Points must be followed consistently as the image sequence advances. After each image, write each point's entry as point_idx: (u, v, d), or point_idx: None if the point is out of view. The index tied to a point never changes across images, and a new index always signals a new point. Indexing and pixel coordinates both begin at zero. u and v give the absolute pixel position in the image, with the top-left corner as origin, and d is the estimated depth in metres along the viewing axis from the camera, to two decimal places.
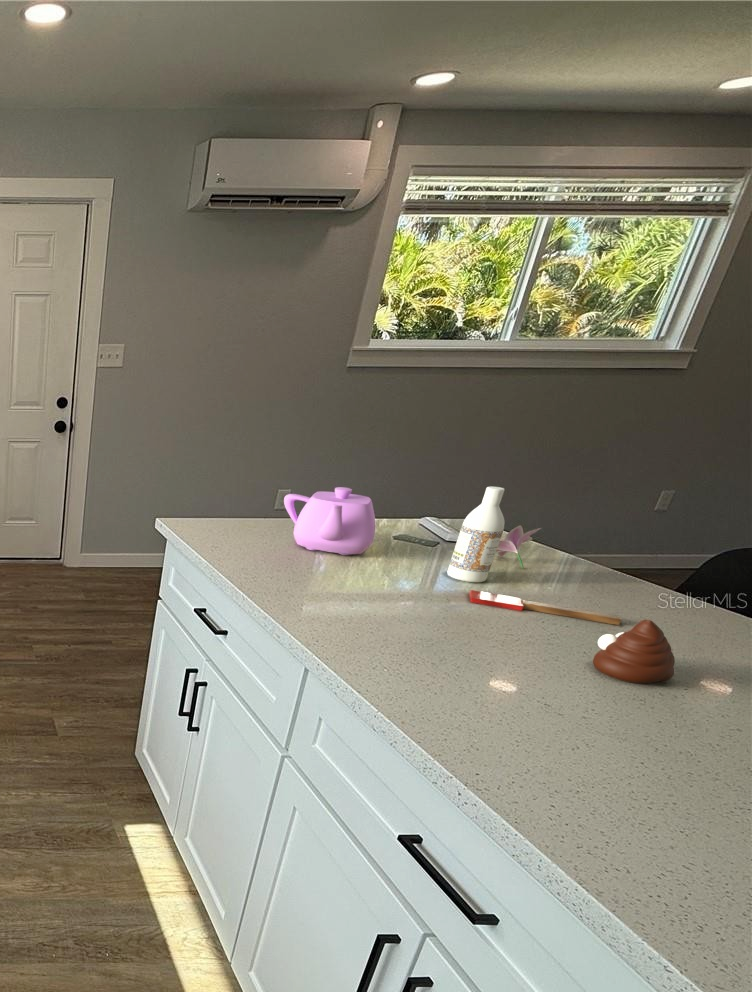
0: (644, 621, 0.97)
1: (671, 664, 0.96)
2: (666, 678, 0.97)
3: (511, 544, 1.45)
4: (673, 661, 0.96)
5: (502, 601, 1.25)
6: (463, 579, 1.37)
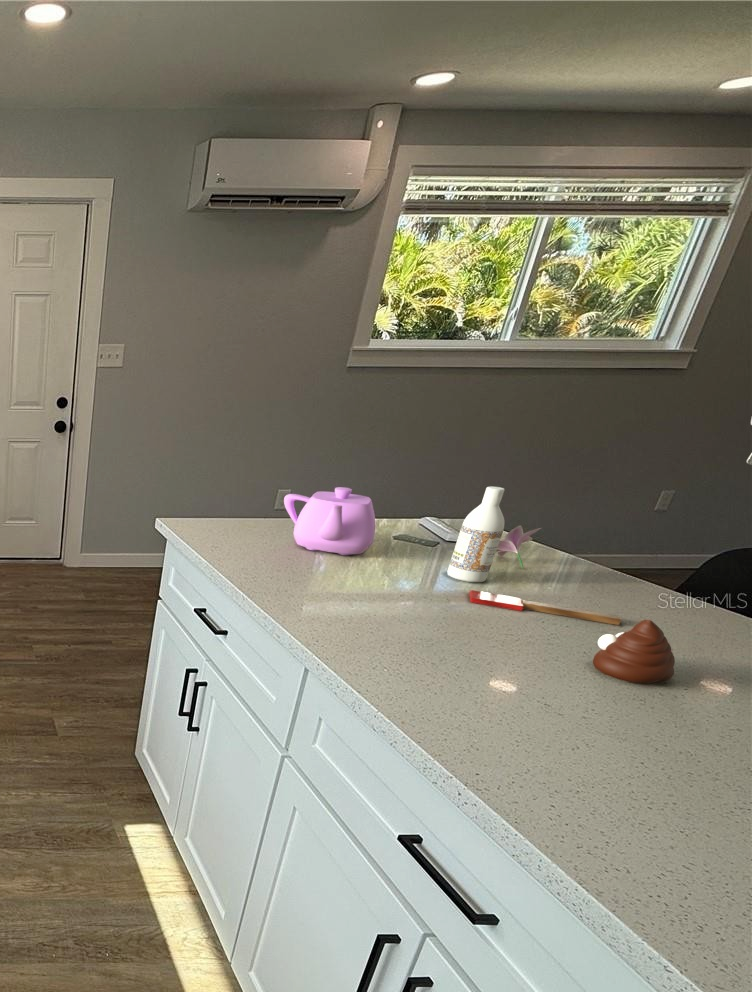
0: (644, 621, 0.97)
1: (671, 664, 0.96)
2: (666, 678, 0.97)
3: (511, 544, 1.45)
4: (673, 661, 0.96)
5: (502, 601, 1.25)
6: (463, 579, 1.37)
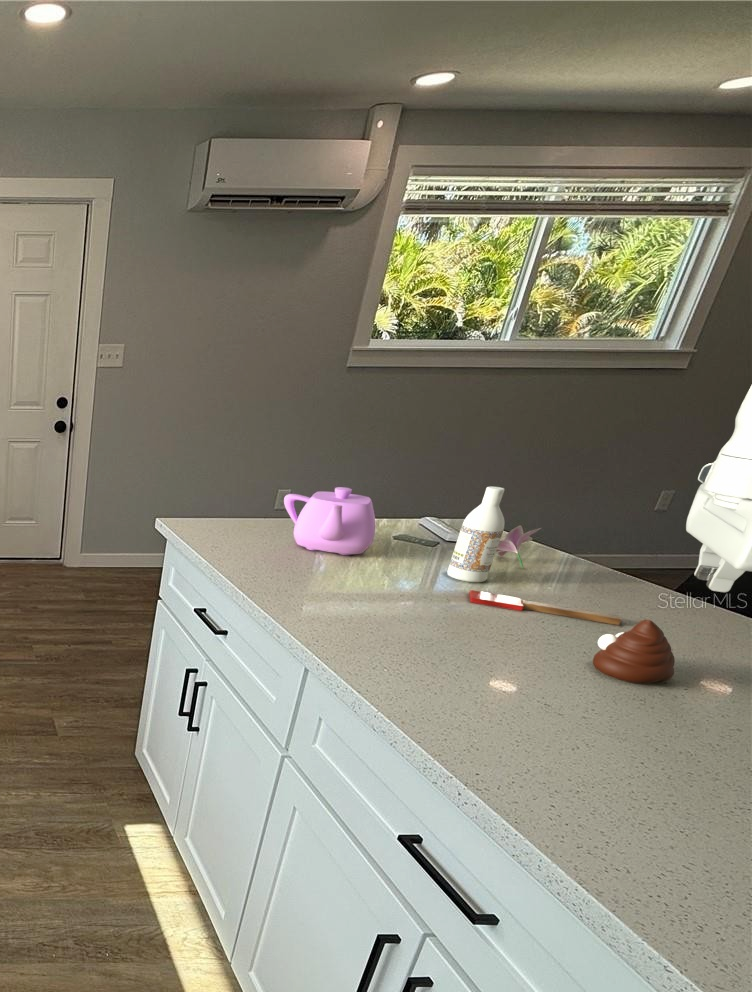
0: (644, 621, 0.97)
1: (671, 664, 0.96)
2: (666, 678, 0.97)
3: (511, 544, 1.45)
4: (673, 661, 0.96)
5: (502, 601, 1.25)
6: (463, 579, 1.37)
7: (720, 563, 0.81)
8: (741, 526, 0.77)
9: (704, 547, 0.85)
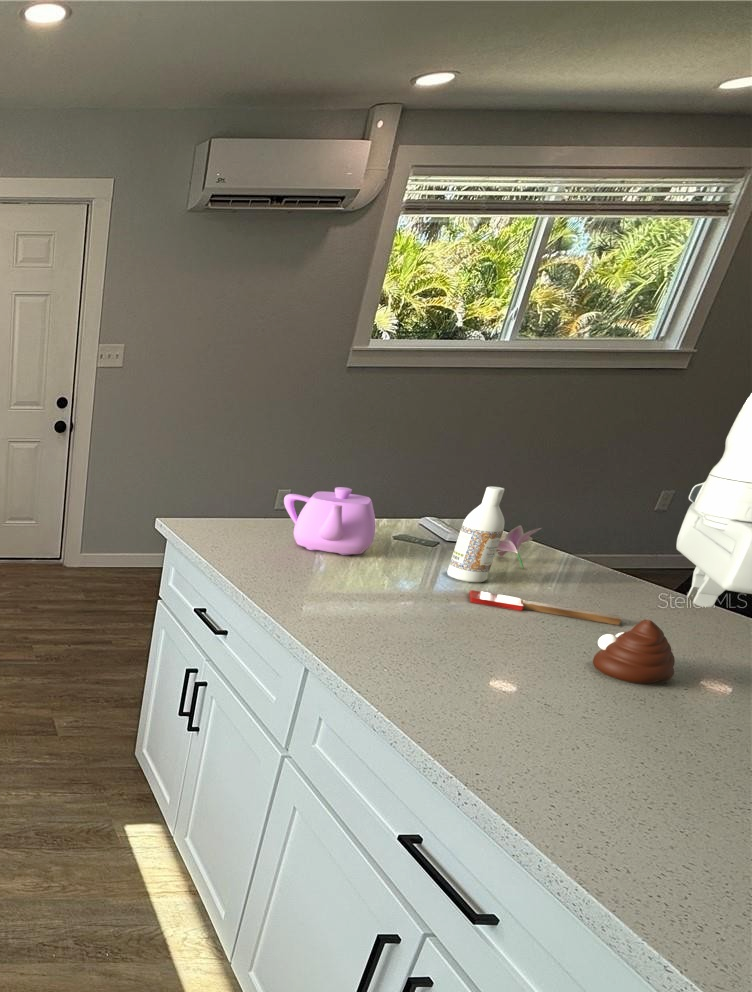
0: (644, 621, 0.97)
1: (671, 664, 0.96)
2: (666, 678, 0.97)
3: (511, 544, 1.45)
4: (673, 661, 0.96)
5: (502, 601, 1.25)
6: (463, 579, 1.37)
7: (704, 579, 0.83)
8: (729, 547, 0.78)
9: (697, 569, 0.85)
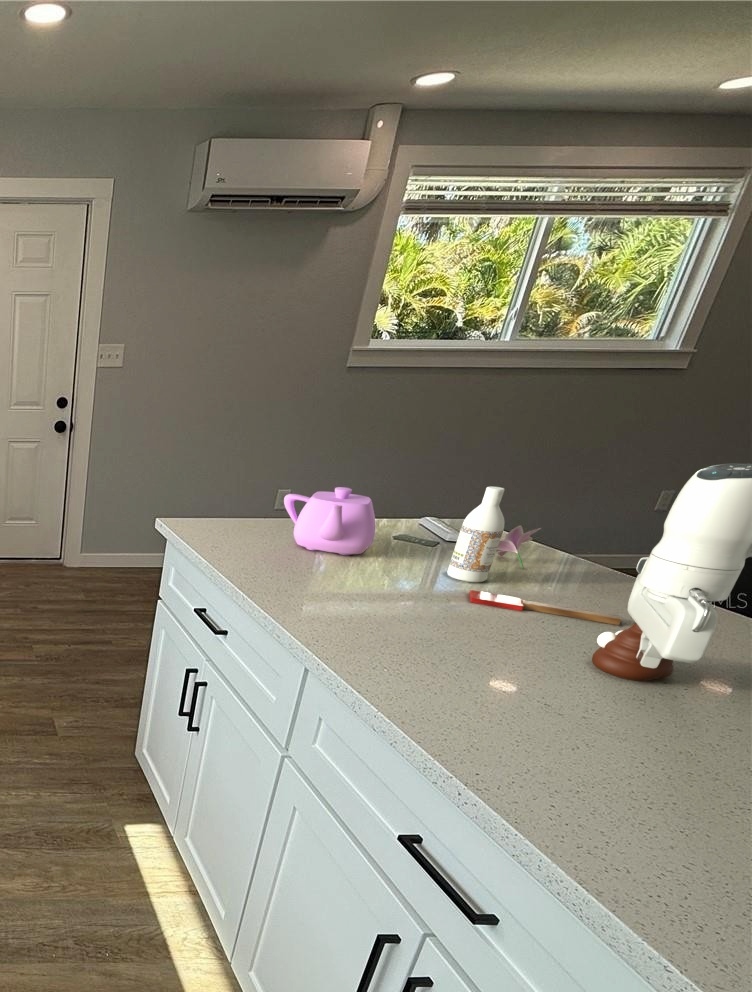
0: None
1: (669, 662, 0.97)
2: (664, 676, 0.97)
3: (511, 544, 1.45)
4: None
5: (502, 601, 1.25)
6: (463, 579, 1.37)
7: (649, 644, 0.94)
8: (668, 620, 0.89)
9: (644, 634, 0.96)
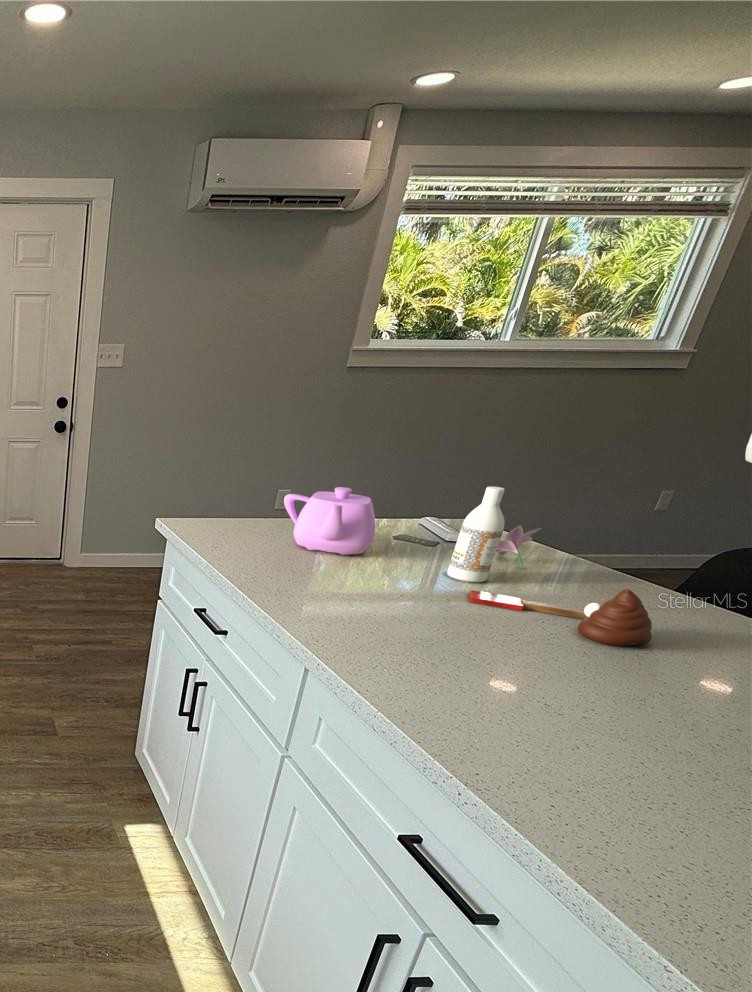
0: (623, 590, 1.08)
1: (646, 629, 1.07)
2: (641, 642, 1.08)
3: (511, 544, 1.45)
4: (649, 627, 1.07)
5: (502, 601, 1.25)
6: (463, 579, 1.37)
7: None
8: None
9: None
